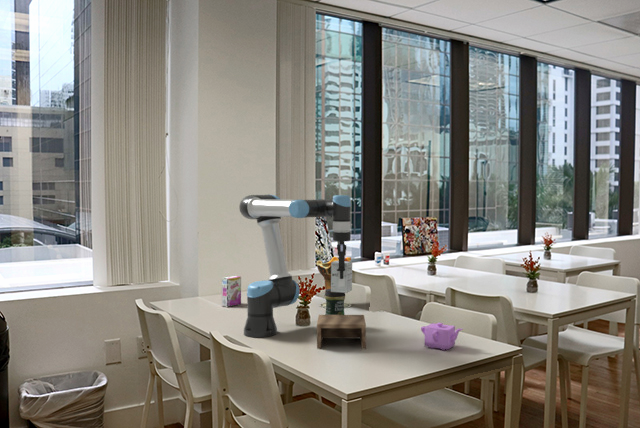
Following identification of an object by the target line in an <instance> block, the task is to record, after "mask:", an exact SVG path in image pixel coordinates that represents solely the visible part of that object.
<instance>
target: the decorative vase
mask: <svg viewBox="0 0 640 428" xmlns="http://www.w3.org/2000/svg"><path fill="white" fill-rule="evenodd" d="M334 261H339V257H338V256H333V257H332V258H331V259H330V261H327V262H323V261H322V260H317V261H316V266H317V271H318V273H319V274H320V275H321V276H322V277H323V280H324V289H325V291H326V289H331V262H334ZM345 261H352V257H350V256H348V257H345ZM325 305H326V302H323V303H321V304H320V305H319V306H320V307H322V308H325V309H326V306H325ZM350 307H352V304H350V303H345V302H344V309H347V308H350Z"/></svg>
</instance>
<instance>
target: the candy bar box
mask: <svg viewBox="0 0 640 428" xmlns="http://www.w3.org/2000/svg"><path fill="white" fill-rule="evenodd" d="M238 304H239V305H241V304H242V276H241V275H240V276H239V275H233V276H226V277H221V306H222V305H223V306H231V307H233V306H232V305H235V306H238ZM223 306H222V307H223Z"/></svg>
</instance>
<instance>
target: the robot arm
mask: <svg viewBox="0 0 640 428" xmlns="http://www.w3.org/2000/svg"><path fill="white" fill-rule="evenodd" d="M351 209H352V202H351V196H350V195H349V194H348V195H347V194H336V195H335V194H334V195H333V196H332V199H323V198H321V199H320V198H318V199H282V198H280V197H278V196H277V195H273V194H249V195H247V196H244V197H243V198H242V199H241V200H240V202H239V212H240V214H241V215H242V217H244V218H245V219H247V220H256V223H257V225H258V226H260V228H261V233H262V237H263V238H262V239H263V243H264V248H265V250H264V251H265V255H266V259H267V265H268V271H269V272H268V273H269V278H268V279H267V280H257V281H254V282H251V283H249V284H248V286H247V290H246V291H247V292H246V296H247V297H246V300H247V303H246V305H247V306H246V307H247V310H246V311H247V317H246V321H245V323H244V328H243V335H244V336H246V337H248V338H249V337H250V338H267V337H271V336H275V335H277V334H278V327H277V324H276V320H275V318H274V309H276V308H281V307H288V306H290V305H293V304H295V303H296V302H297V301H298V299H299V296H300V285H299V283H297V280H294V279H293V276H292V274H290V273H289V272H288V268H287V261H286V255H285V250H284V245H283V240H282V235H281V229H280V223H281V221H282V218H283V217H284V218H294V219H303V218H307V219H308V218H323V217H324V218H327V217H329V218H332V231H333V232H332V240H333V242H338V244H337V245H336V250H337V257H338V259H339V268H338V269H337V271H338V287H345V258H346V257H345V256H346V254H347V252H346V250H347V244H345V242H349V241H351V239H352V237H351V234H352V233H351V232H350V231H351V227H352V226H353V223H351V214H352V213H351Z"/></svg>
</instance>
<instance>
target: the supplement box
mask: <svg viewBox="0 0 640 428" xmlns="http://www.w3.org/2000/svg"><path fill="white" fill-rule="evenodd" d="M338 268H339V261H334V262H331V292H342V293H345V294H347V293H349V292H351V291H352V290H353V261H352V260H350V261H345V287H338V271H337V269H338Z"/></svg>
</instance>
